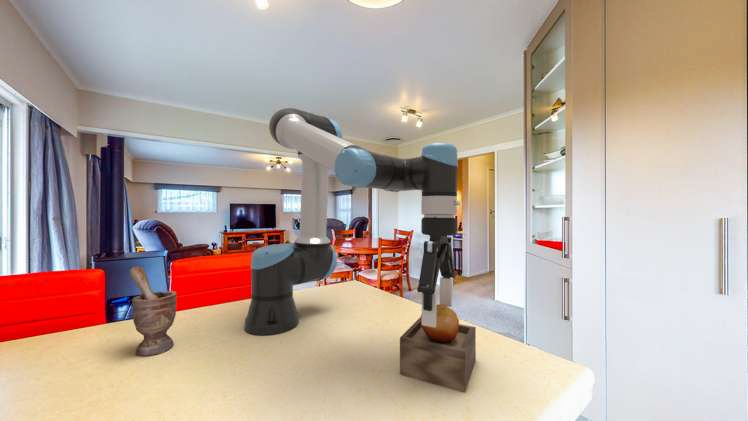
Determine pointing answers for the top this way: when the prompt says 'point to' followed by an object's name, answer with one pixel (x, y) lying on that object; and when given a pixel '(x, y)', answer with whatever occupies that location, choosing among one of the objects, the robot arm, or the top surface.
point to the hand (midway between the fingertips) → (438, 314)
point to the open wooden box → (438, 357)
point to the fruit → (443, 325)
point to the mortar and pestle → (152, 315)
